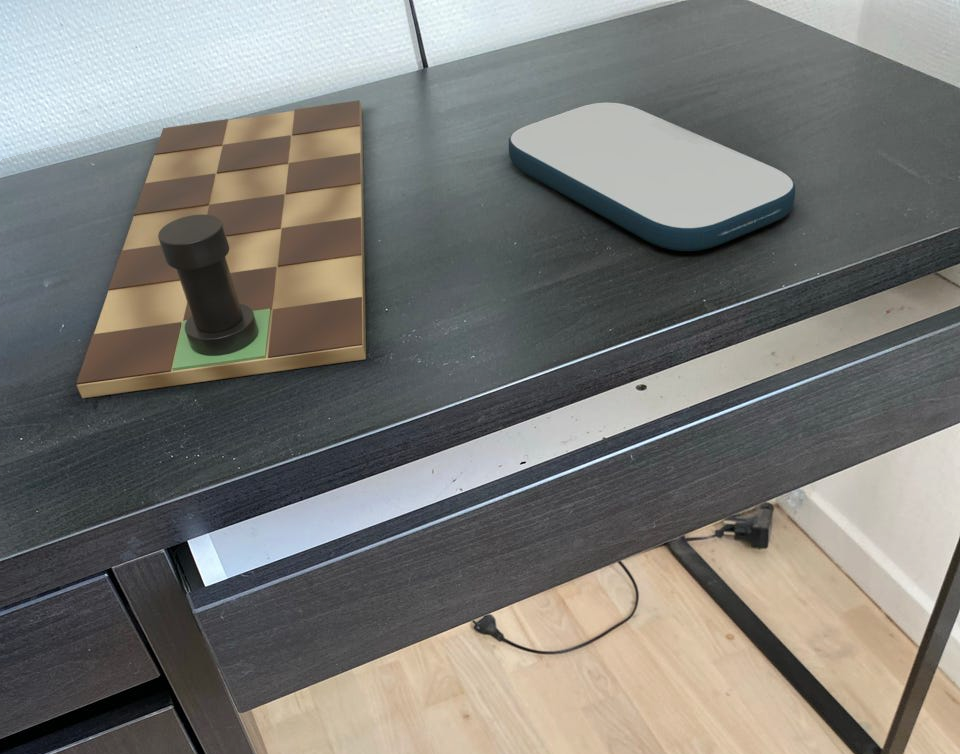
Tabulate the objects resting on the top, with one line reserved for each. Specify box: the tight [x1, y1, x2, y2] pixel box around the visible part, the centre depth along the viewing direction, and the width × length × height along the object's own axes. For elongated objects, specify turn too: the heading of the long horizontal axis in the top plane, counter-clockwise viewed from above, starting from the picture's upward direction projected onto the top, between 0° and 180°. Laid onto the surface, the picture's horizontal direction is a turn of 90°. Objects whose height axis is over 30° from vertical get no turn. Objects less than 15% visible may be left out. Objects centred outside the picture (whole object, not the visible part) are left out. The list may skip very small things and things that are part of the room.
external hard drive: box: [508, 101, 796, 252], centre depth 75 cm, size 24×12×2 cm, turn 31°
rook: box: [158, 214, 258, 356], centre depth 62 cm, size 4×4×7 cm
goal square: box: [172, 309, 271, 371], centre depth 65 cm, size 6×6×1 cm
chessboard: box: [75, 99, 367, 399], centre depth 78 cm, size 18×42×1 cm, turn 5°
